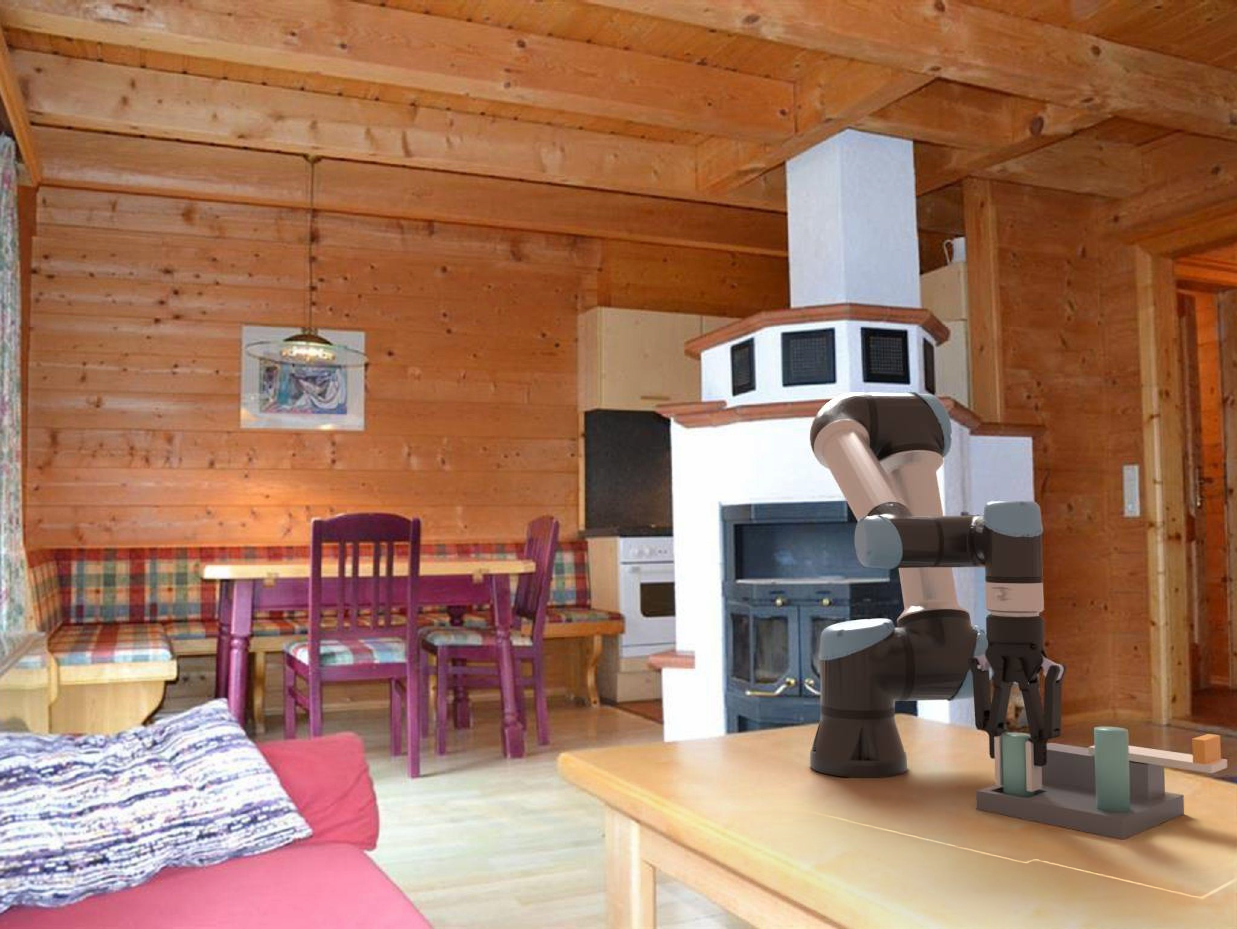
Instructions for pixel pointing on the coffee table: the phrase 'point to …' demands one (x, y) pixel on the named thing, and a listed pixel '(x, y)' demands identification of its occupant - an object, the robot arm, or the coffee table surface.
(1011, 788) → the peg
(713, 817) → the coffee table surface
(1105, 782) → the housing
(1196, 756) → the lid
